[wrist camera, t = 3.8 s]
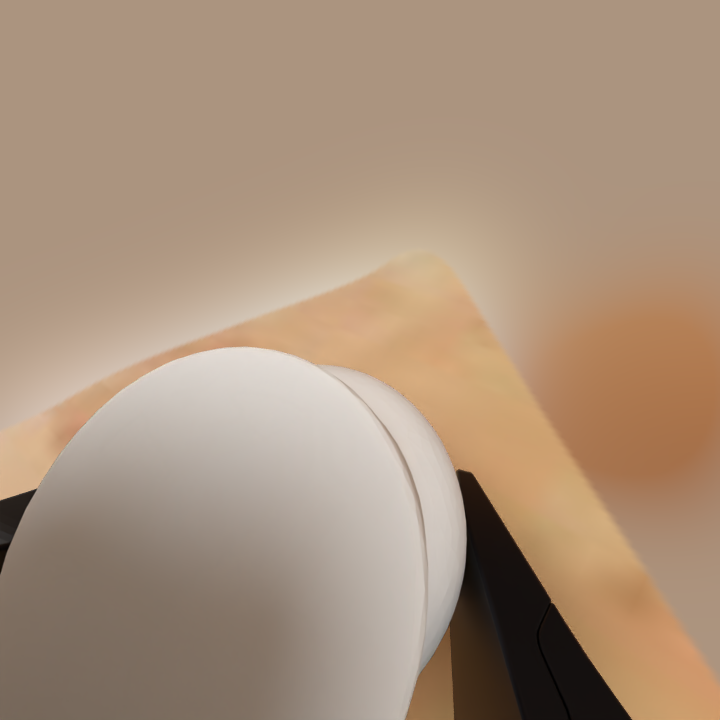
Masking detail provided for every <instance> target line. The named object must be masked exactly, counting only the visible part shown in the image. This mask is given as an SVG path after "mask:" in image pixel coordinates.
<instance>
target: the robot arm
mask: <svg viewBox="0 0 720 720" xmlns="http://www.w3.org/2000/svg"><path fill="white" fill-rule="evenodd" d="M456 476H457V479H458V482H459V486H460V490H461V494H462V498H463V504H464V511H465V518H466V537H467V541H466V563H465V570H464V577H463V581H462V586H461V590H460V594H459V598H458V601H457V604H456V607H455V611H454V613H453V616H452V618H451V621H450V639H451V660H452V681H453V702H454V720H632V719H631V717H630V716H629V715H628V713H627V712H626V710H625V709H624V708H623V706H622V705H621V703H620V702H619V701H618V699H617V698H616V697H615V695H614V694H613V692H612V691H611V689H610V688H609V686H608V685H607V684H606V682H605V681H604V679H603V678H602V676H601V675H600V674H599V672H598V671H597V669H596V668H595V666H594V665H593V664H592V662H591V661H590V659H589V658H588V656H587V655H586V653H585V652H584V650H583V649H582V647H581V646H580V644H579V642H578V641H577V639H576V638H575V636H574V635H573V633H572V632H571V630H570V629H569V627H568V626H567V624H566V622H565V621H564V619H563V618H562V616H561V614H560V613H559V611H558V610H557V608H556V606H555V605H554V604H553V603H551V599H550V597H549V595H548V594H547V592H546V591H545V589H544V587H543V586H542V584H541V582H540V581H539V579H538V578H537V576H536V574H535V573H534V571H533V570H532V568H531V566H530V565H529V563H528V562H527V560H526V558H525V557H524V555H523V554H522V552H521V550H520V549H519V547H518V546H517V544H516V542H515V541H514V539H513V538H512V536H511V534H510V533H509V531H508V529H507V528H506V526H505V525H504V523H503V521H502V520H501V518H500V517H499V515H498V513H497V512H496V510H495V509H494V507H493V505H492V504H491V502H490V501H489V499H488V497H487V496H486V494H485V493H484V491H483V489H482V488H481V486H480V485H479V483H478V481H477V480H476V478H475V477H474V475H473V474H472V473H471V472H468V471H464V470H460V469H458V470H457V471H456ZM36 490H37V489H35V490H31V491H28V492H25V493H22V494H19V495H16V496H13V497H10V498H7V499H3V500H0V574H1V571H2V567H3V564H4V560H5V557H6V554H7V551H8V549H9V547H10V544H11V542H12V540H13V537H14V535H15V533H16V530H17V528H18V526H19V523H20V521H21V519H22V516H23V514H24V512H25V510H26V508H27V506H28V504H29V503H30V501H31V499H32V497H33V496H34V494H35V492H36Z"/></svg>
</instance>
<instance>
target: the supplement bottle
mask: <svg viewBox="0 0 720 720" xmlns="http://www.w3.org/2000/svg"><path fill="white" fill-rule="evenodd" d="M466 541H467V537H466V518H465V511H464V504H463V498H462V494H461V490H460V486H459V482H458V479H457V476H456V473H455V470H454V467H453V465H452V462H451V460H450V457H449V455H448V453H447V451H446V449H445V447H444V445H443V443H442V441H441V439H440V438H439V436H438V435H437V433H436V431H435V430H434V428H433V427H432V426H431V424H430V423H429V422H428V421H427V419H426V418H425V417H424V416H423V414H422V413H421V412H420V411H419V410H418V409H417V408H416V407H415V406H414V405H413V404H412V403H411V402H410V401H409V400H407V399H406V398H405V397H404V396H403V395H402V394H400V393H399V392H398V391H396V390H395V389H394V388H392V387H391V386H389V385H387V384H385V383H384V382H382V381H380V380H378V379H377V378H374V377H372V376H370V375H368V374H365V373H362V372H359V371H356V370H353V369H349V368H345V367H340V366H332V365H315V364H314V363H311V362H309V361H307V360H304V359H302V358H300V357H297V356H295V355H291V354H288V353H284V352H280V351H276V350H269V349H263V348H254V347H228V348H220V349H214V350H209V351H204V352H200V353H195V354H192V355H189V356H186V357H183V358H179V359H176V360H173V361H171V362H169V363H167V364H164V365H162V366H161V367H159V368H157V369H155V370H153V371H151V372H149V373H147V374H145V375H144V376H142V377H141V378H139V379H137V380H136V381H134V382H133V383H131V384H130V385H128V386H127V387H125V388H124V389H122V390H121V391H120V392H119V393H117V394H116V395H115V396H114V397H113V398H112V399H110V400H109V401H108V402H107V403H106V404H105V405H103V406H102V407H101V408H100V409H99V410H98V411H97V412H96V413H95V414H94V415H93V416H92V417H91V418H90V419H89V420H88V421H87V422H86V423H85V424H84V425H83V426H82V427H81V428H80V430H79V431H78V432H77V433H76V434H75V435H74V437H73V438H72V439H71V440H70V441H69V443H68V444H67V445H66V447H65V448H64V449H63V451H62V452H61V453H60V454H59V456H58V457H57V459H56V460H55V462H54V463H53V465H52V466H51V468H50V469H49V471H48V472H47V474H46V475H45V477H44V478H43V480H42V482H41V483H40V485H39V487H38V489H37V490H36V492H35V494H34V496H33V497H32V499H31V501H30V503H29V504H28V506H27V508H26V510H25V512H24V514H23V516H22V519H21V521H20V523H19V526H18V528H17V530H16V533H15V535H14V537H13V540H12V542H11V544H10V547H9V549H8V551H7V554H6V557H5V560H4V564H3V567H2V571H1V574H0V720H405V719H406V716H407V713H408V709H409V706H410V702H411V699H412V695H413V692H414V689H415V685H416V682H417V678H418V675H419V674H420V673H421V671H422V670H423V669H424V667H425V666H426V665H427V663H428V662H429V660H430V659H431V657H432V656H433V654H434V653H435V651H436V649H437V647H438V645H439V643H440V641H441V640H442V638H443V636H444V634H445V632H446V630H447V628H448V626H449V623H450V621H451V618H452V616H453V613H454V611H455V607H456V604H457V601H458V598H459V594H460V590H461V586H462V581H463V577H464V570H465V563H466Z"/></svg>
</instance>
